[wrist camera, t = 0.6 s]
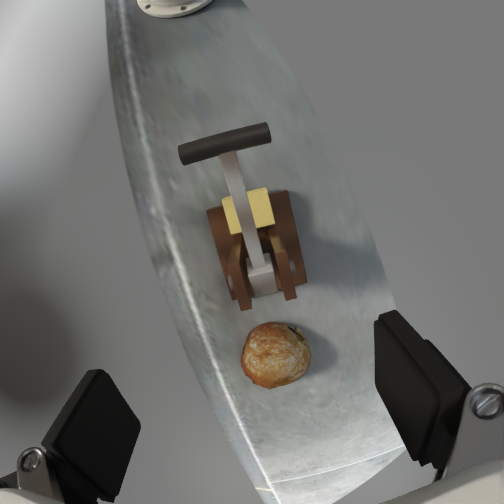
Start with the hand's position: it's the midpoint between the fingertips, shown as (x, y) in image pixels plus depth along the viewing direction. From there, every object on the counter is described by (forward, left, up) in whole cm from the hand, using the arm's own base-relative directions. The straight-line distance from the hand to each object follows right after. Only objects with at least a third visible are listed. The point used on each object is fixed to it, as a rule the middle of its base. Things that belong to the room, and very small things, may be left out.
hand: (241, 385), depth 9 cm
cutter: (+3, +1, -28) cm, 28 cm away
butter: (-2, +1, -27) cm, 27 cm away
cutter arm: (-3, +1, -16) cm, 16 cm away
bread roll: (+19, -1, -29) cm, 34 cm away
